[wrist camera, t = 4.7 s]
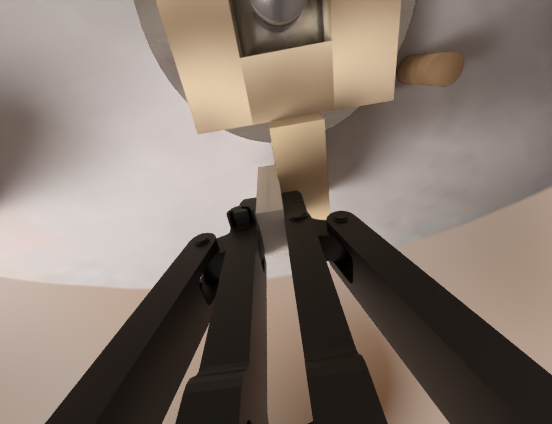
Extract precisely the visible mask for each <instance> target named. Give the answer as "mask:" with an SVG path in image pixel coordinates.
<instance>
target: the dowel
mask: <svg viewBox="0 0 552 424" xmlns="http://www.w3.org/2000/svg"><path fill="white" fill-rule="evenodd" d="M463 67H464V59H463V56H462V55H461V54H460V53H459V52H457V51H449V52H440V53H432V54H423V55H414V56H409V57H406V58H405V59H404V60H403V61H402V62H401V63H400V65H399V67H398V70H397V76H398V79H399V80H400V81H401V82H402V83H406V84H418V85H429V86H441V87H444V86H448V85H450V84H452V83H453V82H455V81H456V80H457V79H458V77H459V76H460V74H461V73H462V70H463Z"/></svg>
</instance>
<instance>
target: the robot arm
mask: <svg viewBox="0 0 552 424" xmlns="http://www.w3.org/2000/svg"><path fill="white" fill-rule="evenodd" d="M227 217H228V221H229V224H230V227H231V230H230V233H229V234H227V235H225V236H222V237H220V238H217V239H216V236H215V235H214V234H212V233H203V234H200V235H198V236H196V237H194V238H193V239H192V240H191V241H190V242H189V243H188V244H187V246H186V247H185V248H184V249H183V251H182V252H181V253H180V254H179V256H178V257H177V258H176V259H175V261H174V262H173V263H172V264H171V266H170V267H169V268H168V269H167V271H166V272H165V273H164V275H163V276H162V277H161V278H160V280H159V281H158V282H157V283H156V285H155V286H154V287H153V288H152V290H151V291H150V292H149V293H148V295H147V296H146V297H145V298H144V300H143V301H142V302H141V303H140V305H139V306H138V308H136V310H135V311H134V312H133V314H132V315H131V316H130V317H129V319H128V320H127V321H126V322H125V324H124V325H123V326H122V327H121V329H120V330H119V331H118V333H117V334H116V335H115V336H114V337H113V339H112V340H111V341H110V343H109V344H108V345H107V346H106V347H105V349H104V350H103V351H102V353H101V354H100V355H99V357H98V358H97V359H96V360H95V361H94V363H93V364H92V365H91V367H90V368H89V369H88V370H87V371H86V373H85V374H84V375H83V376H82V378H81V379H80V380H79V381H78V383H77V384H76V385H75V387H74V388H73V389H72V390H71V392H70V393H69V394H68V395H67V397H66V398H65V399H64V400H63V402H62V403H61V404H60V405H59V407H58V408H57V409H56V411H55V412H54V413H53V414H52V416H51V417H50V418H49V419H48V421H47V422H46V423H45V424H162V422H163V420H164V418H165V416H166V414H167V411H168V409H169V407H170V405H171V403H172V401H173V399H174V396H175V394H176V392H177V390H178V388H179V386H180V384H181V382H182V380H183V378H184V375H185V373H186V371H187V369H188V367H189V365H190V363H191V361H192V358H193V356H194V354H195V352H196V350H197V348H198V346H199V344H200V341H201V339H202V337H203V335H204V333H205V331H206V329H207V327H208V325H209V329H208V333H207V337H206V342H205V346H204V351H203V355H202V360H201V364H200V368H199V372H198V374H197V375H196V376H195V377H192V378H190V379H189V381H188V383H187V384H186V387H185V390H184V393H183V397H182V401H181V404H180V408H179V412H178V416H177V420H176V423H175V424H269V423H268V414H267V302H266V301H267V298H266V260H265V256H266V257H270V256H277V255H284V254H289V256H290V263H291V270H292V277H293V283H294V290H295V297H296V304H297V310H298V317H299V324H300V331H301V337H302V344H303V351H304V358H305V367H306V374H307V382H308V388H309V395H310V402H311V408H312V416H313V421H312V422H311V423H308V424H387V421H386V418H385V415H384V412H383V409H382V407H381V404H380V401H379V398H378V395H377V393H376V390H375V387H374V384H373V382H372V379H371V376H370V373H369V371H368V368H367V365H366V363H365V360H364V359H363V357H362V355H360V354H358V352H357V350H356V347H355V345H354V342H353V339H352V336H351V333H350V330H349V327H348V324H347V321H346V318H345V315H344V312H343V309H342V306H341V304H340V300H339V297H338V294H337V292H336V289H335V286H334V283H333V280H332V277H331V274H330V271H329V268H328V265H327V262H326V261H329V263H330V265H331V266H332V268H333V269H334V270H335V272H336V273H337V274H338V276H339V277H340V278H341V279H342V281H343V282H344V284H345V285H346V286H347V288H348V289H349V290H350V292H351V293H352V294H353V295H354V297H355V298H356V300H357V301H358V302H359V303H360V305H361V306H362V308H363V309H364V310H365V312H366V313H367V314H368V315H369V317H370V318H371V319H372V321H373V322H374V323H375V325H376V326H377V327H378V329H379V330H380V331H381V333H382V334H383V335H384V337H385V338H386V339H387V341H388V342H389V343H390V345H391V346H392V347H393V349H394V350H395V351H396V353H397V354H398V355H399V357H400V358H401V359H402V360H403V362H404V363H405V365H406V366H407V367H408V369H409V370H410V371H411V373H412V374H413V375H414V377H415V378H416V379H417V381H418V382H419V383H420V384H421V386H422V387H423V389H424V390H425V391H426V392H427V394H428V395H429V396H430V398H431V399H432V400H433V402H434V403H435V404H436V406H437V407H438V408H439V410H440V411H441V412H442V414H443V415H444V416H445V418H446V419H447V420H448V422H449V423H450V424H552V375H551V374H550V373H548V372H547V371H546V370H545V369H543V368H542V367H541V366H540V365H538V364H537V363H536V362H535V361H534V360H532V359H531V358H530V357H529V356H527V355H526V354H525V353H524V352H523V351H521V350H520V349H519V348H518V347H516V346H515V345H514V344H513V343H511V342H510V341H509V340H508V339H506V338H505V337H504V336H503V335H502V334H500V333H499V332H498V331H497V330H495V329H494V328H493V327H492V326H490V325H489V324H488V323H486V321H484V320H483V319H482V318H481V317H479V316H478V315H477V314H476V313H474V312H473V311H472V310H471V309H469V308H468V307H467V306H466V305H465V304H463V303H462V302H461V301H460V300H458V299H457V298H456V297H455V296H454V295H452V294H451V293H450V292H448V291H447V290H446V289H445V288H444V287H442V286H441V285H440V284H439V283H437V282H436V281H435V280H434V279H433V278H431V277H430V276H429V275H428V274H426V273H425V272H424V271H423V270H421V269H420V268H419V267H418V266H417V265H415V264H414V263H413V262H412V261H410V260H409V259H408V258H407V257H405V256H404V255H403V254H402V253H401V252H399V251H398V250H397V249H396V248H394V247H393V246H392V245H391V244H389V243H388V242H387V241H386V240H384V239H383V238H382V237H381V236H380V235H378V234H377V233H376V232H375V231H373V230H372V229H371V228H370V227H368V226H367V225H366V224H365V223H364V222H362V221H361V220H360V219H359V218H357V217H356V216H355V215H354V214H352V213H350V212H346V211H337V212H333V213H331V214H329V215H328V216H327V219H326V220H318V219H314V218H312V217H311V215H310V214H309V213H308V212H307V209H306V206H305V203H304V200H303V197H302V194H301V193H300V192H299V191H297V190H296V191H290V192H283V193H281V189H280V183H279V180H278V177H277V172H276V166H275V165H270V166H264V167H259V168H258V182H257V198H251V199H244V200H243V201H242V202H241V203H240V206H237V207H234V208H232V209H231V210H229V211H228V213H227ZM200 278H201V279H200ZM209 323H210V324H209Z"/></svg>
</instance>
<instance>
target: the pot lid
mask: <svg viewBox="0 0 552 424" xmlns="http://www.w3.org/2000/svg"><path fill="white" fill-rule="evenodd" d="M134 2H135V6H136V9H137V13H138V16H139V19H140V23H141V26H142V29H143V31H144V34H145V36H146V39H147V41H148V44H149V46H150V48H151V50H152V52H153V54H154V56H155V58H156V60H157V62H158V64H159V66H160V67H161V69H162V70H163V72H164V73H165V75H166V76H167V78H168V79H169V81H170V82H171V84H172V85H173V86H174V88H175V89H176V90H177V91H178V92H179V94H180V95H181V96H182V97H183V98H184V99H185V100H186V101H187V98H186V95H185V92H184V89H183V86H182V82H181V79H180V76H179V73H178V70H177V67H176V63H175V60H174V57H173V54H172V51H171V48H170V45H169V41H168V38H167V35H166V32H165V29H164V26H163V22H162V19H161V16H160V13H159V10H158V7H157V4H156V0H134ZM415 3H416V0H401V11H400V24H399V36H398V49H397V54H398V52H399V50H400V47H401V45H402V43H403V41H404V38H405V36H406V33H407V30H408V27H409V24H410V22H411V18H412V14H413V11H414V7H415ZM232 5H233V10H234V15H235V20H236V25H237V31H238V36H239V41H240V46H241V51H242V56H243V57H248V56H253V55H259V54H264V53H269V52H274V51H280V50H285V49H290V48H295V47H301V46H306V45H311V44H316V43H322V42H324V23H323V3H322V0H232ZM187 102H188V101H187ZM359 107H360V106H358V107H352V108H346V109H341V110H335V111H329V112H324V113H318V114H319V115H320V116H322V117H323V118H324V119H325V131H326V130H328V129H330V128H332V127H333V126H335V125H337V124H338V123H340V122H341V121H343V120H344V119H346V118H347V117H348V116H350V115H351V114H352V113H353V112H354V111H355V110H356V109H358V108H359ZM226 131H228V132H230V133H232V134H235V135H237V136H240V137H243V138H247V139H250V140H255V141H261V142H271V136H270V130H269V122H266V123H261V124H255V125H249V126H243V127H238V128H232V129H226Z"/></svg>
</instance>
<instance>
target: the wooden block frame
mask: <svg viewBox="0 0 552 424" xmlns="http://www.w3.org/2000/svg"><path fill="white" fill-rule="evenodd" d="M322 3H323V23H324V42H322V43H316V44H311V45H306V46H301V47H295V48H290V49H285V50H280V51H274V52H269V53H264V54H259V55H253V56H248V57H243V56H242V51H241V46H240V41H239V36H238V31H237V25H236V20H235V15H234V10H233V5H232V0H156V4H157V7H158V10H159V13H160V16H161V19H162V22H163V26H164V29H165V32H166V35H167V38H168V41H169V45H170V48H171V51H172V54H173V57H174V60H175V63H176V67H177V70H178V73H179V76H180V79H181V82H182V86H183V89H184V92H185V95H186V98H187V101H188V104H189V108H190V111H191V114H192V117H193V120H194V123H195V127H196V130H197V133H198V134H203V133H209V132H215V131H220V130H226V129H232V128H238V127H243V126H249V125H255V124H261V123H266V122H269V130H270V136H271V142H272V148H273V154H274V160H275V166H276V172H277V177H278V180H279V183H280V189H281V193H283V192H290V191H296V190H297V191H299V192H300V193H301V194H302V197H303V200H304V203H305V206H306V209H307V212H308V213H309V214H310V215H311V217H312V218H314V219H318V220H326V219H327V216H328V215H329V214H330V207H329V189H328V170H327V152H326V134H325V119H324V118H323V117H322V116H320V115H319V114H318V113H324V112H329V111H335V110H341V109H346V108H352V107H358V106H364V105H369V104H375V103H381V102H387V101H392V100H393V99H394V87H395V74H396V62H397V49H398V36H399V24H400V11H401V0H322Z"/></svg>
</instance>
